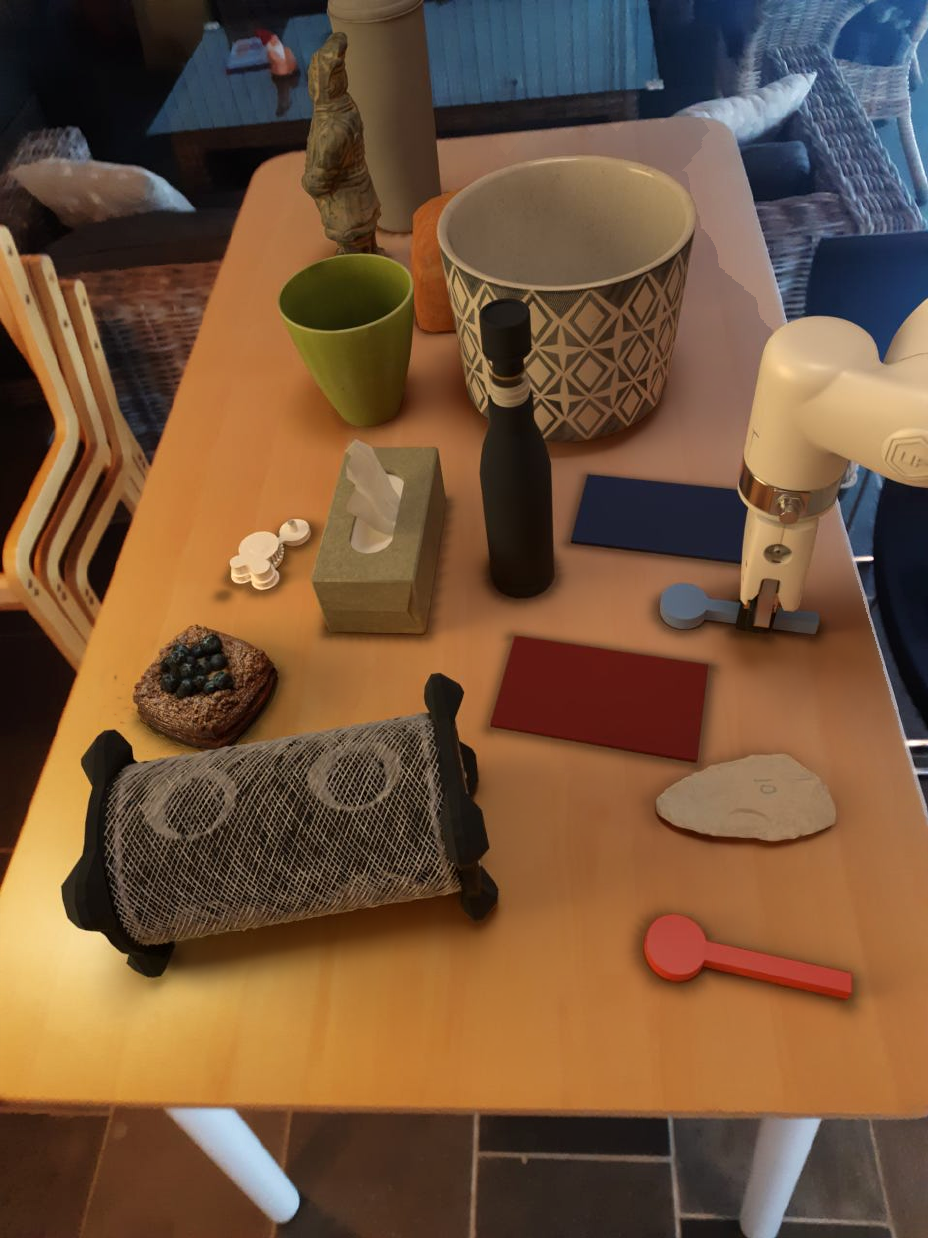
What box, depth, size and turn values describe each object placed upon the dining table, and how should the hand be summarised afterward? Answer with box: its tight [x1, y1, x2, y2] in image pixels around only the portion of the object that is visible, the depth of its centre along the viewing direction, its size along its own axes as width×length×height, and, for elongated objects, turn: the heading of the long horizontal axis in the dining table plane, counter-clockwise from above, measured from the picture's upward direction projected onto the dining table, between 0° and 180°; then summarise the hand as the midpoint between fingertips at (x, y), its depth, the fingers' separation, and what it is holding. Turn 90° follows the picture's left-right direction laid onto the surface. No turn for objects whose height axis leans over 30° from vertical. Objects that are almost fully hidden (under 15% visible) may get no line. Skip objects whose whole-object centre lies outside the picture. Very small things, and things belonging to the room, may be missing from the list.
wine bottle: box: [479, 298, 555, 599], centre depth 77 cm, size 6×6×30 cm
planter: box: [437, 154, 698, 443], centre depth 97 cm, size 26×26×22 cm
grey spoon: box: [659, 582, 820, 635], centre depth 82 cm, size 14×4×2 cm, turn 75°
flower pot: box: [277, 254, 415, 428], centre depth 102 cm, size 15×15×16 cm
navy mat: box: [570, 473, 748, 565], centre depth 92 cm, size 18×10×1 cm, turn 75°
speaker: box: [60, 672, 500, 979], centre depth 66 cm, size 15×28×15 cm, turn 98°
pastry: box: [132, 623, 280, 752], centre depth 81 cm, size 11×12×6 cm
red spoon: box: [644, 913, 853, 1000], centre depth 63 cm, size 14×4×2 cm, turn 75°
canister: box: [326, 0, 443, 233], centre depth 122 cm, size 13×13×35 cm
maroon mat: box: [489, 635, 709, 763], centre depth 79 cm, size 18×10×1 cm, turn 75°
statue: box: [301, 32, 387, 257], centre depth 116 cm, size 11×9×30 cm
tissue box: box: [309, 438, 447, 635], centre depth 86 cm, size 19×10×16 cm, turn 174°
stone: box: [655, 752, 837, 842], centre depth 71 cm, size 8×14×2 cm, turn 95°
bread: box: [409, 186, 466, 333], centre depth 113 cm, size 14×33×16 cm, turn 94°
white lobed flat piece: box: [229, 518, 312, 591], centre depth 93 cm, size 9×9×2 cm
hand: (753, 619), depth 83 cm, fingers closed on grey spoon, 1 cm apart
